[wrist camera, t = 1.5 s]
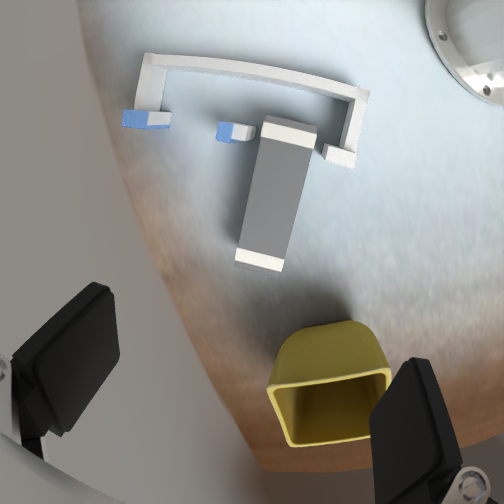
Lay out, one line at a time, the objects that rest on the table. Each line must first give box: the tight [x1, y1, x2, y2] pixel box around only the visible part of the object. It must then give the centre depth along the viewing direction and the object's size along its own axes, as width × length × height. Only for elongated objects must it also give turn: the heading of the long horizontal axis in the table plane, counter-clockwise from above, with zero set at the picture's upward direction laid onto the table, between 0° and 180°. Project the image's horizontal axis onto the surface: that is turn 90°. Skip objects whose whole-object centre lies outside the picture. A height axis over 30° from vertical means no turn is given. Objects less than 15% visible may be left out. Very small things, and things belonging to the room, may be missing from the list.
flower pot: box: [267, 320, 391, 447], centre depth 25 cm, size 9×9×9 cm
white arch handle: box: [121, 53, 370, 169], centre depth 20 cm, size 6×16×4 cm, turn 78°
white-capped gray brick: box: [234, 115, 318, 277], centre depth 22 cm, size 11×4×4 cm, turn 168°
